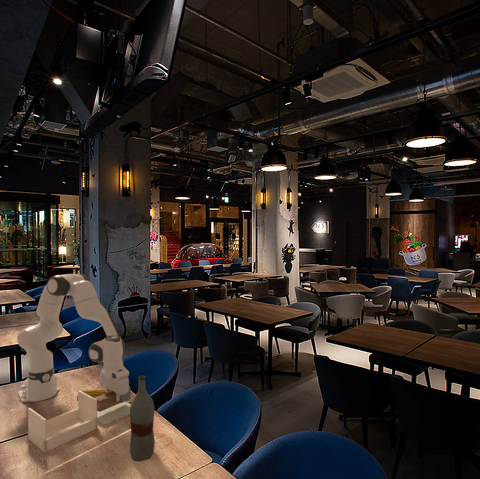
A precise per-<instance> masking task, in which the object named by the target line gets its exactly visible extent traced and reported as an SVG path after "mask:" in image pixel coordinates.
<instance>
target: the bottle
mask: <svg viewBox="0 0 480 479" xmlns="http://www.w3.org/2000/svg"><path fill="white" fill-rule="evenodd" d="M137 378H138V382H137V383H138V384H137V385H138V386H137V388H138V390H137V392H136V394H135V396H134V397H133V399H132V401H131V403H130V404H131V406H130V414H129V415H128V416H129V421H130V434H131V435H130V442H129V451H130V452H129V453H130V456H131V459H132V460H134V461H135V462H143V461H147V460H149V459H150V458H152V456H153V455H154V451H155V444H156V442H155V433H154V418H155V403H154V400H153V398H152V397H151V395H149V394H150V393H149V392H148V391H147V388H146V387H147V386H146V376H145V375H139V376H138V377H137Z"/></svg>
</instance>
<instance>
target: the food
mask: <svg viewBox="0 0 480 479" xmlns="http://www.w3.org/2000/svg"><path fill="white" fill-rule="evenodd" d="M80 391H81V390H80ZM81 392H83V393H85V394H87V395H89V396H91V397H93V398H95V397H98V396H101V395H103V394H106V393H107V391H106V389H104V390H103V389H100V390H99V389H96V390H95V389H92V390H82V391H81ZM76 401H77V402H78V394H77V396H76Z"/></svg>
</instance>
